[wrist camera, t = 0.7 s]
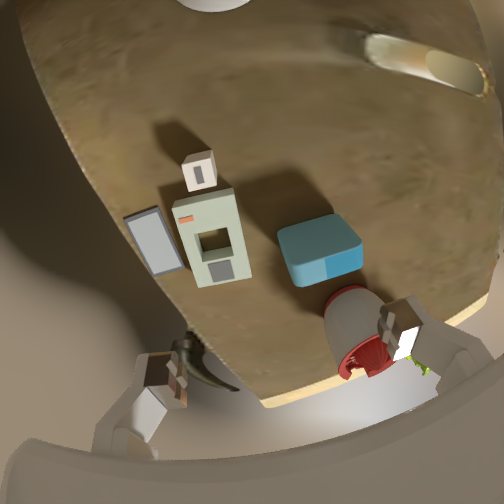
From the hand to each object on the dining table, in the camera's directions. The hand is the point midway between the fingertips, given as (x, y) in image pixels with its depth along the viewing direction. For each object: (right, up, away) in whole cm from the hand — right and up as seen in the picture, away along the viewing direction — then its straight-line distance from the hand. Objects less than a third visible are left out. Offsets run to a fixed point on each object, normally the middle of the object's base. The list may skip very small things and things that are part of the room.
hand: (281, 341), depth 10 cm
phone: (-19, +5, +39) cm, 43 cm away
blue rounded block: (+9, +7, +41) cm, 42 cm away
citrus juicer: (+21, -9, +52) cm, 57 cm away
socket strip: (-8, +6, +39) cm, 40 cm away
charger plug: (-9, +17, +32) cm, 37 cm away
